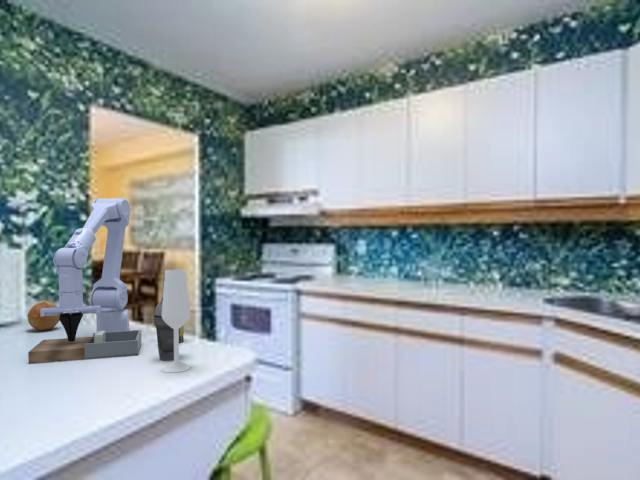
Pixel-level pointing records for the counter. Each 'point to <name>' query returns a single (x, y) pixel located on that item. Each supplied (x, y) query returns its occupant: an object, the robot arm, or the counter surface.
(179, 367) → the champagne flute
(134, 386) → the counter surface
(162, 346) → the beverage cup
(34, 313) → the onion
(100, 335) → the tile
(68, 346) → the plate
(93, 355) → the box
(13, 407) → the counter surface
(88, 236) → the robot arm
